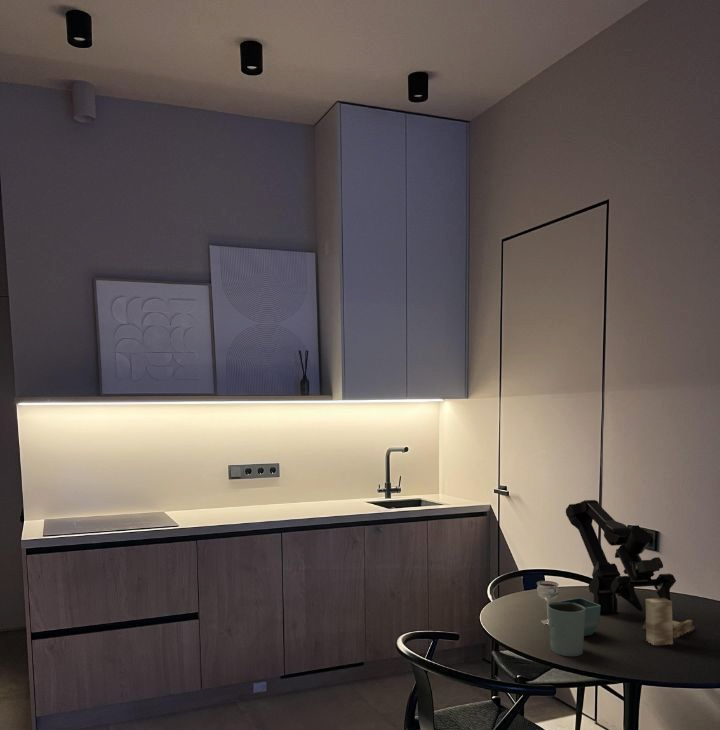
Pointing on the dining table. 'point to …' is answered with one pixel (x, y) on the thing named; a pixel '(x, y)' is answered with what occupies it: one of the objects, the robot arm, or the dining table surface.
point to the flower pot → (588, 614)
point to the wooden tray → (680, 627)
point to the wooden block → (659, 621)
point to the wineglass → (547, 593)
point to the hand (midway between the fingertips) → (656, 610)
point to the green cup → (566, 628)
